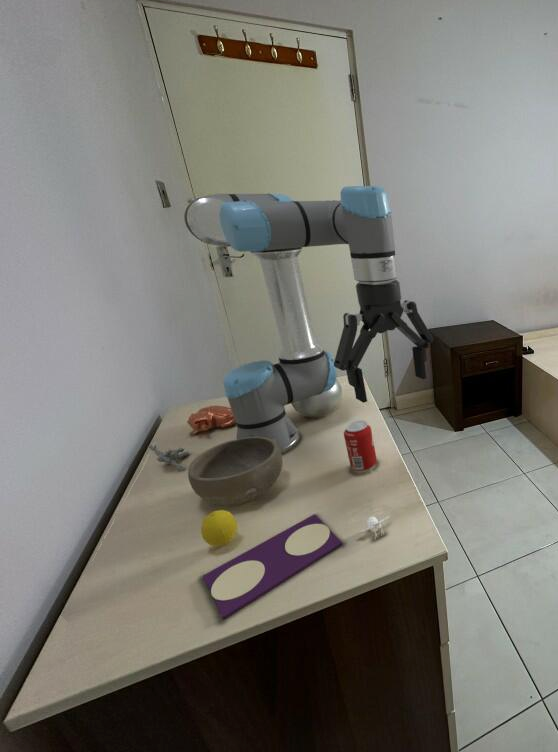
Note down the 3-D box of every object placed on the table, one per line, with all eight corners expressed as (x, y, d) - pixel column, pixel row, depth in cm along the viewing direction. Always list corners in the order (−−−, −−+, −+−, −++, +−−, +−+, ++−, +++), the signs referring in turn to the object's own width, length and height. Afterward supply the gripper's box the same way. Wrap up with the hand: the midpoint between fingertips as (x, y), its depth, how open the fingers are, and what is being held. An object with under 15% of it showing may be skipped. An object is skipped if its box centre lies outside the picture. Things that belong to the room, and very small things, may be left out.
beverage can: (382, 461, 103) (375, 421, 98) (366, 476, 97) (358, 434, 93) (362, 457, 104) (354, 417, 100) (345, 471, 99) (336, 430, 94)
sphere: (287, 414, 128) (307, 430, 119) (276, 374, 122) (297, 386, 113) (331, 398, 138) (354, 411, 129) (324, 360, 133) (346, 371, 124)
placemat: (203, 578, 71) (202, 575, 71) (315, 516, 85) (314, 513, 85) (223, 619, 64) (222, 617, 63) (342, 544, 77) (341, 541, 77)
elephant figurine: (207, 454, 108) (183, 462, 99) (193, 471, 108) (167, 481, 99) (176, 431, 107) (149, 438, 98) (161, 449, 107) (133, 457, 98)
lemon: (219, 534, 81) (207, 503, 78) (247, 532, 81) (236, 501, 78) (202, 556, 75) (188, 524, 72) (232, 554, 76) (219, 521, 73)
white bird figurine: (387, 512, 84) (387, 499, 82) (397, 529, 82) (398, 516, 79) (350, 531, 80) (349, 518, 77) (360, 550, 77) (359, 538, 74)
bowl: (279, 507, 88) (267, 469, 84) (185, 525, 83) (168, 487, 79) (294, 463, 103) (285, 429, 99) (216, 476, 98) (203, 442, 95)
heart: (185, 406, 121) (184, 426, 110) (233, 397, 128) (236, 416, 117) (190, 423, 123) (189, 445, 112) (236, 414, 130) (240, 434, 119)
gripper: (317, 295, 60) (342, 417, 68) (444, 273, 77) (453, 373, 85) (296, 289, 65) (322, 405, 73) (421, 270, 82) (431, 365, 90)
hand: (393, 388), depth 79 cm, fingers open, 13 cm apart
